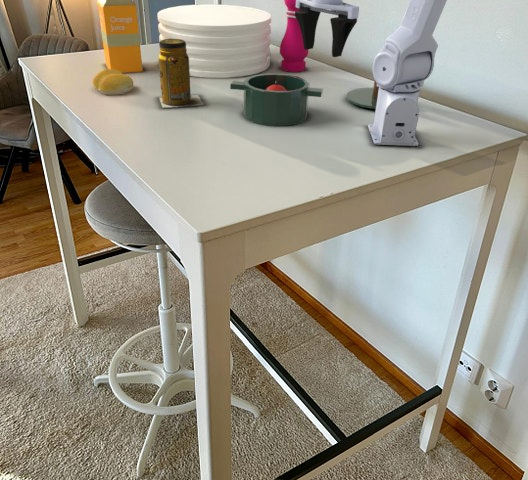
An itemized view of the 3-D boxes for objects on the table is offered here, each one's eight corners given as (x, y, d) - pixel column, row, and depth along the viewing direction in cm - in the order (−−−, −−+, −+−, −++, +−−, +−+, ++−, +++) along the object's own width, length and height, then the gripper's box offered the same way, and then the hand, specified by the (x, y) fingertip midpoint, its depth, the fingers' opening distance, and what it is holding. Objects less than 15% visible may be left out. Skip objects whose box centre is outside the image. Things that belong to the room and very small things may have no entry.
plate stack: (140, 59, 142) (135, 10, 136) (224, 45, 158) (223, 1, 151) (205, 84, 126) (203, 30, 119) (292, 66, 141) (294, 17, 135)
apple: (289, 118, 108) (290, 85, 104) (261, 117, 108) (262, 84, 104) (288, 109, 112) (290, 77, 108) (262, 108, 112) (262, 76, 109)
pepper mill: (291, 74, 135) (297, -18, 123) (273, 67, 140) (276, -22, 128) (313, 69, 139) (320, -20, 127) (294, 63, 143) (299, -24, 132)
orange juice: (111, 73, 131) (98, -22, 119) (105, 64, 138) (92, -27, 126) (143, 71, 134) (134, -23, 122) (136, 62, 140) (127, -28, 128)
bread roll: (107, 98, 116) (105, 78, 114) (88, 88, 121) (85, 69, 119) (142, 91, 120) (140, 72, 118) (122, 81, 126) (119, 63, 124)
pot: (315, 130, 104) (318, 96, 100) (223, 121, 107) (223, 87, 103) (323, 109, 114) (326, 77, 110) (239, 101, 117) (239, 70, 113)
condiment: (159, 97, 117) (153, 37, 110) (198, 95, 119) (195, 36, 112) (162, 108, 111) (157, 45, 104) (203, 106, 113) (201, 44, 106)
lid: (408, 115, 113) (413, 90, 110) (342, 108, 115) (345, 84, 112) (408, 95, 123) (412, 73, 120) (348, 90, 125) (350, 68, 123)
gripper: (372, -22, 101) (363, 56, 109) (314, -30, 109) (309, 43, 117) (348, -19, 97) (340, 62, 105) (289, -28, 105) (286, 47, 113)
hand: (322, 52), depth 110 cm, fingers open, 7 cm apart
